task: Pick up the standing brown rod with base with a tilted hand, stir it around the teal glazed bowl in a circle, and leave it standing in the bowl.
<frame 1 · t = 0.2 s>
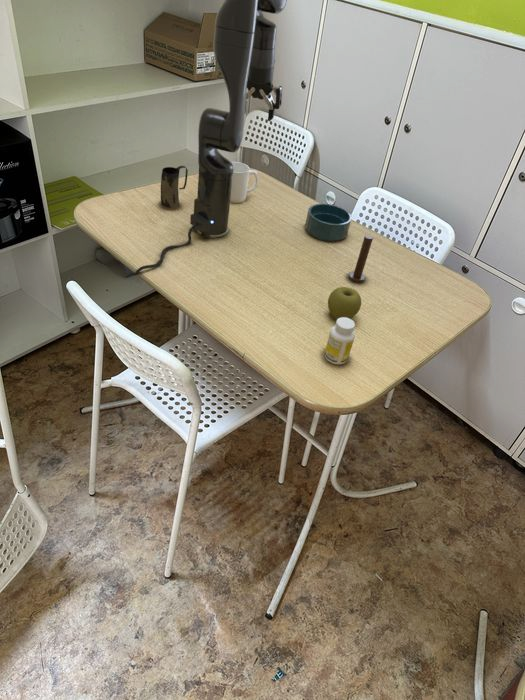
hand: (256, 117, 164), 22 cm above the table, tool pointing down, fingers open, 8 cm apart
mug: (173, 205, 160), on the table
brown rod with base: (356, 278, 142), on the table
cup: (238, 197, 170), on the table
apple: (340, 316, 129), on the table
bowl: (325, 231, 160), on the table
supplement bottle: (335, 357, 117), on the table
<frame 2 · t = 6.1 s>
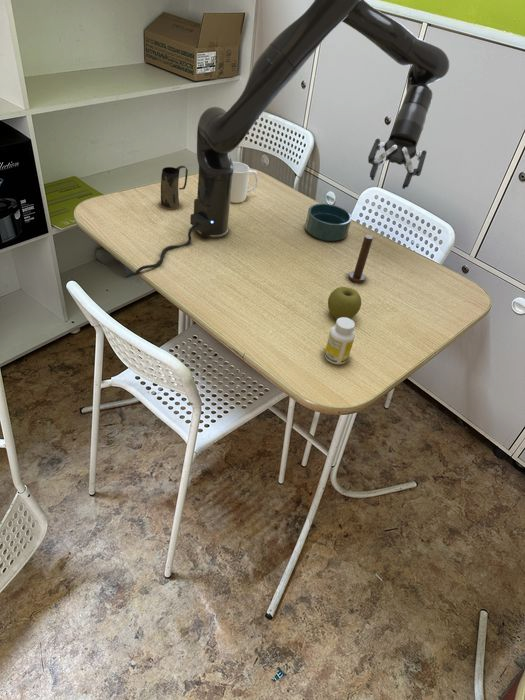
hand: (387, 183, 137), 23 cm above the table, tool tilted 45°, fingers open, 8 cm apart
nothing on the table moved.
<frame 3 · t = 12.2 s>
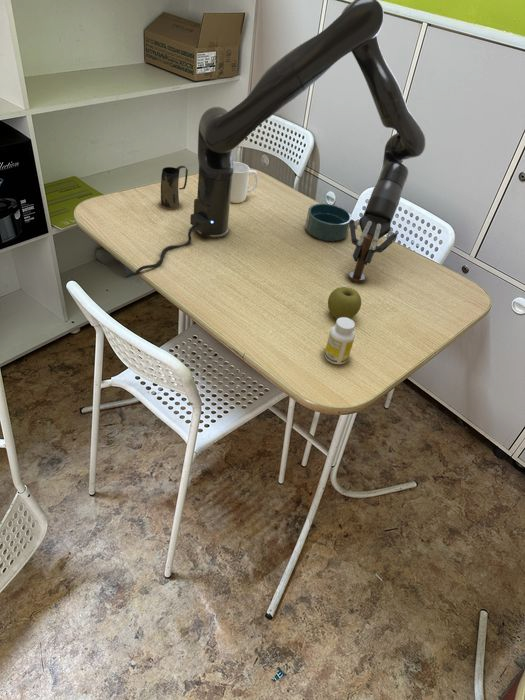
hand: (360, 262, 137), 6 cm above the table, tool tilted 45°, fingers closed on brown rod with base, 2 cm apart
brown rod with base: (356, 278, 142), on the table, touching gripper
everything else where it was.
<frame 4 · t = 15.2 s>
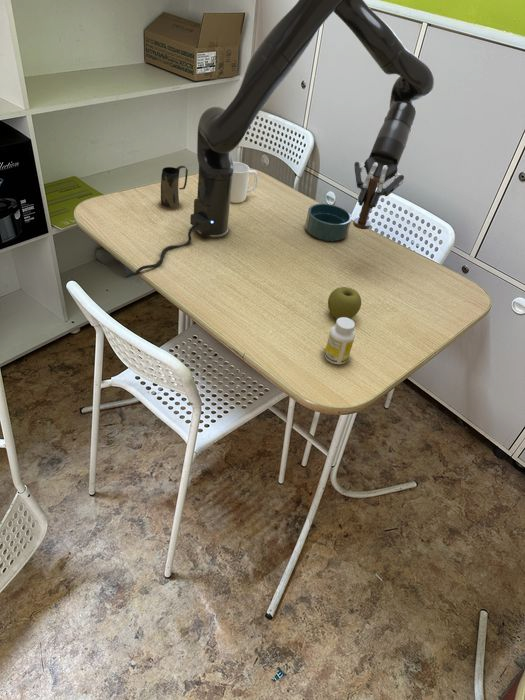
hand: (365, 205, 131), 20 cm above the table, tool tilted 45°, fingers closed on brown rod with base
brown rod with base: (361, 225, 137), point 13 cm above the table, touching gripper
everything else where it was.
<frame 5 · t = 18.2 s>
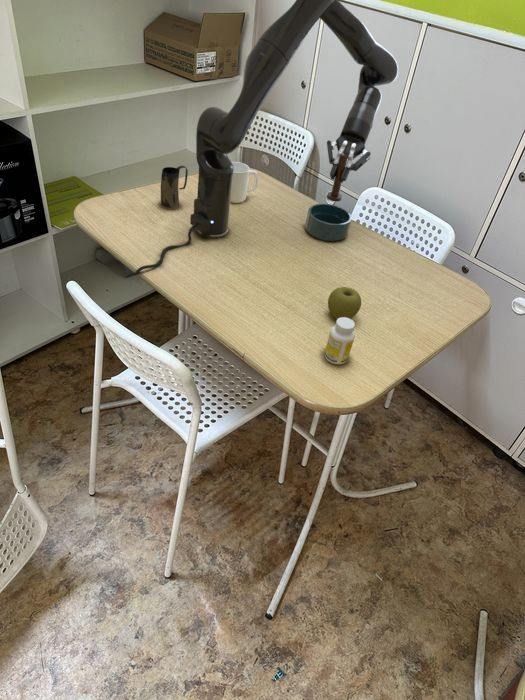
hand: (337, 179, 147), 18 cm above the table, tool tilted 45°, fingers closed on brown rod with base
brown rod with base: (334, 198, 153), point 11 cm above the table, touching gripper
everything else where it was.
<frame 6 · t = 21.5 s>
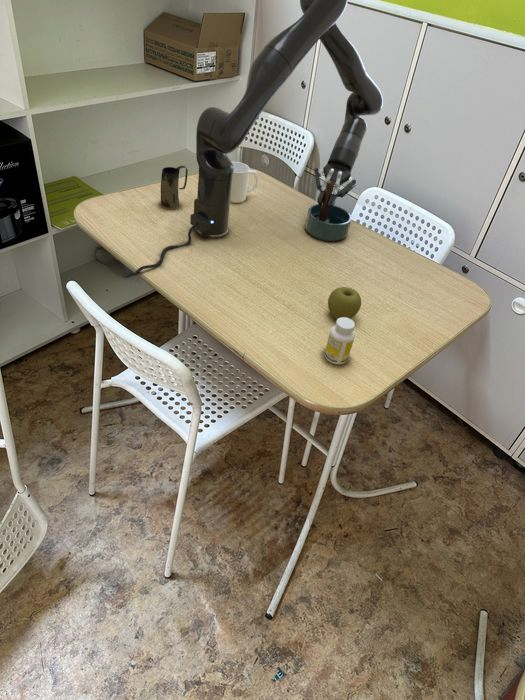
hand: (324, 205, 154), 9 cm above the table, tool tilted 45°, fingers closed on brown rod with base, 2 cm apart
brown rod with base: (321, 222, 159), point 2 cm above the table, touching gripper
everything else where it was.
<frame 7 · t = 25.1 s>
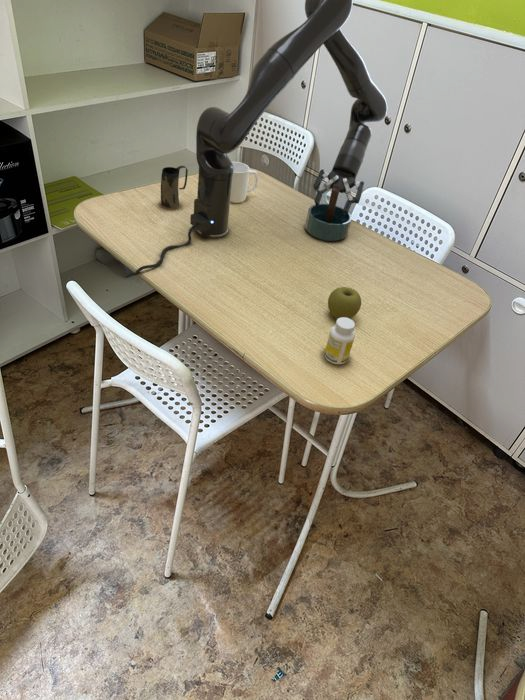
hand: (330, 209, 154), 8 cm above the table, tool tilted 45°, fingers open, 8 cm apart
brown rod with base: (326, 229, 160), point 1 cm above the table, touching bowl
everything else where it was.
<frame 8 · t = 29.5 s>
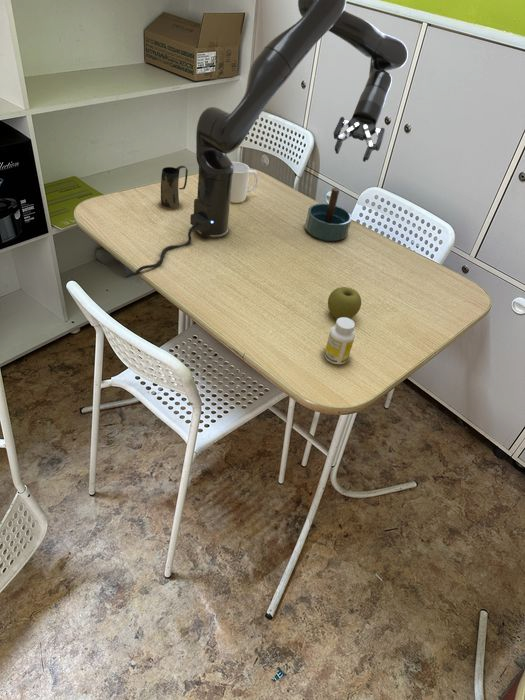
hand: (350, 156, 154), 21 cm above the table, tool tilted 45°, fingers open, 8 cm apart
nothing on the table moved.
at the end: brown rod with base inside the target area in the bowl (0.1 cm from its centre), point 0.8 cm above the bowl's base; the gripper is holding nothing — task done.
